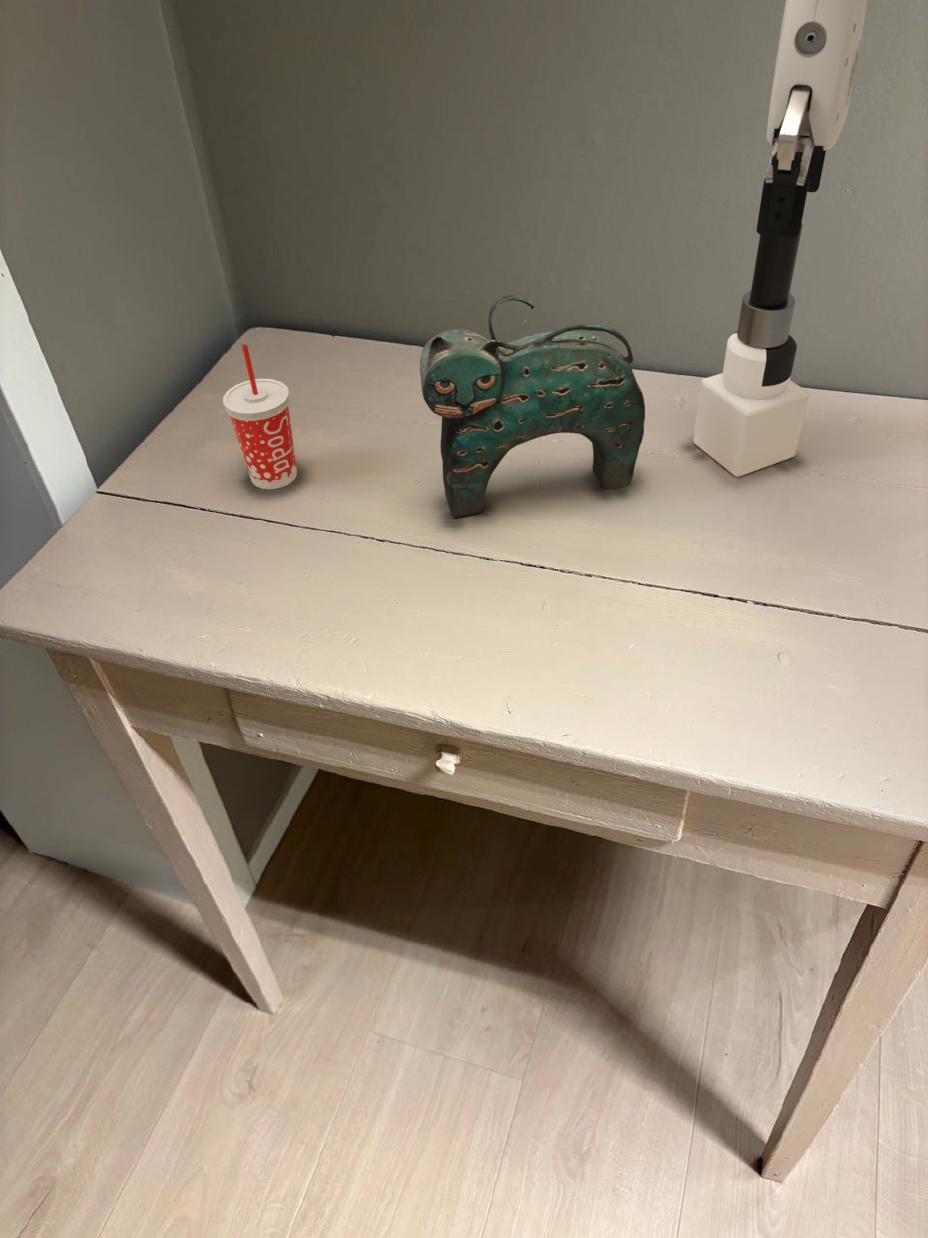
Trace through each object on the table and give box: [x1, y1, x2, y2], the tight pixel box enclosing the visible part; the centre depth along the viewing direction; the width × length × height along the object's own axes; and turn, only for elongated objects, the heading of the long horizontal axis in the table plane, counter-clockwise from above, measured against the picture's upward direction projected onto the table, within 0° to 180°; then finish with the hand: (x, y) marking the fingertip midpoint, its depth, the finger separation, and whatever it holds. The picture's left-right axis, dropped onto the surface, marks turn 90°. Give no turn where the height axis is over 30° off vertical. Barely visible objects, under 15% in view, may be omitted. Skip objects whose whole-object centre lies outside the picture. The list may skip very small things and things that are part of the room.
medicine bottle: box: [692, 330, 810, 478], centre depth 89 cm, size 7×7×12 cm
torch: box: [736, 223, 803, 348], centre depth 82 cm, size 4×4×10 cm
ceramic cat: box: [419, 294, 646, 519], centre depth 84 cm, size 20×6×20 cm, turn 102°
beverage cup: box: [222, 344, 298, 490], centre depth 90 cm, size 6×6×14 cm
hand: (788, 211), depth 77 cm, fingers open, 9 cm apart
